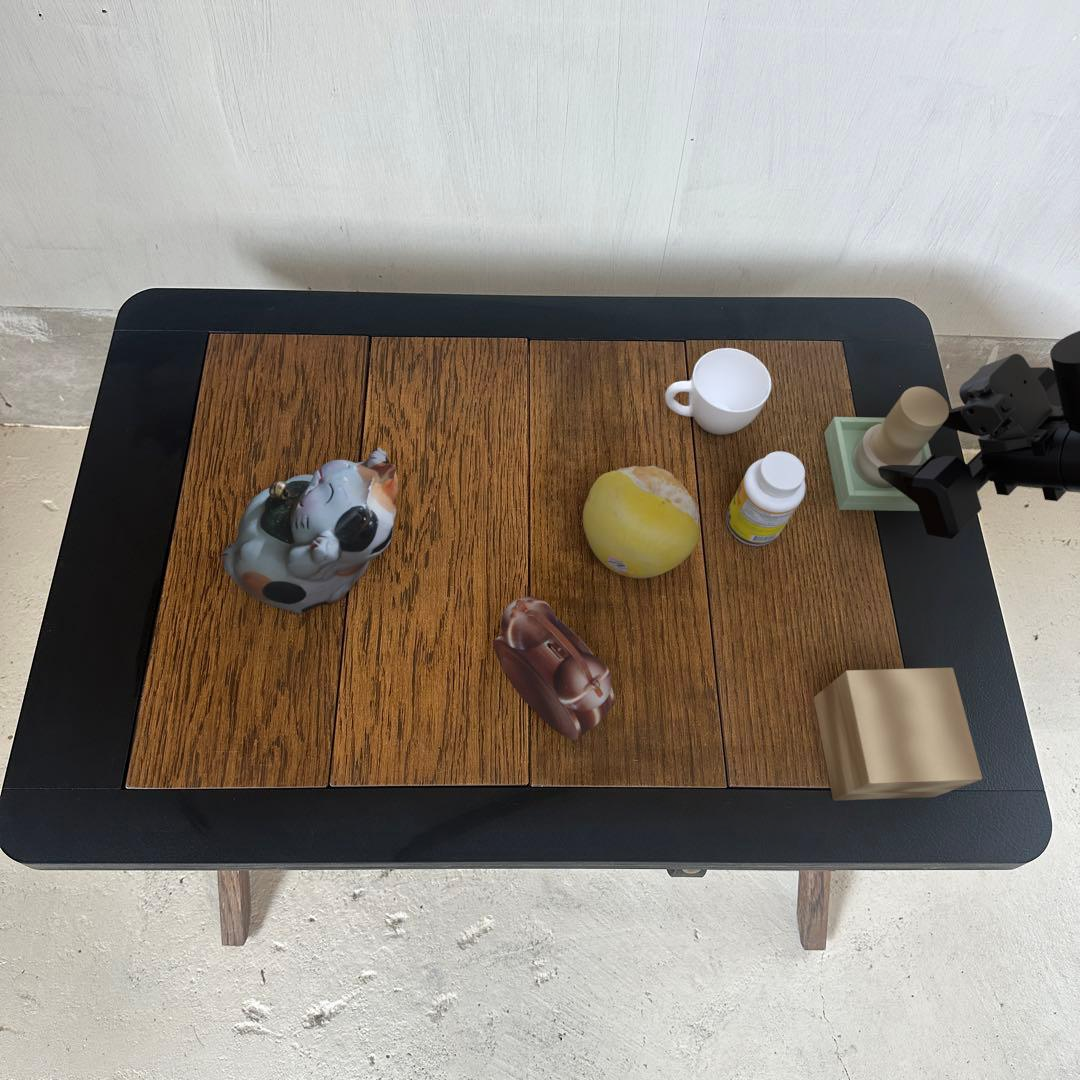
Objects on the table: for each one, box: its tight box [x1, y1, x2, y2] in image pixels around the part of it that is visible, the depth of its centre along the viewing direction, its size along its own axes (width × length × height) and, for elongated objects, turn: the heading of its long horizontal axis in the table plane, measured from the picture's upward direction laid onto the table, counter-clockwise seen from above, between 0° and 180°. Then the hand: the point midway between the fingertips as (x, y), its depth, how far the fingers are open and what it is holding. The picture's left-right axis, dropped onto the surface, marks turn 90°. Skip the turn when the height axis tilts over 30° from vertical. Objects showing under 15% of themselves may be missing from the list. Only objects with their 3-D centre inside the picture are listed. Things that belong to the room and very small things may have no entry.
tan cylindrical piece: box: [852, 385, 950, 488], centre depth 81 cm, size 6×6×10 cm
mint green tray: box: [823, 416, 932, 512], centre depth 86 cm, size 9×9×3 cm
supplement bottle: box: [726, 450, 806, 547], centre depth 79 cm, size 6×6×10 cm
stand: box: [813, 667, 983, 802], centre depth 71 cm, size 9×9×8 cm
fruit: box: [582, 465, 701, 579], centre depth 78 cm, size 10×11×10 cm
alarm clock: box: [492, 596, 616, 741], centre depth 68 cm, size 11×5×15 cm, turn 42°
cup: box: [664, 347, 772, 436], centre depth 86 cm, size 8×10×7 cm
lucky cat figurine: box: [221, 447, 399, 615], centre depth 75 cm, size 15×12×14 cm
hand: (908, 444), depth 81 cm, fingers open, 9 cm apart
